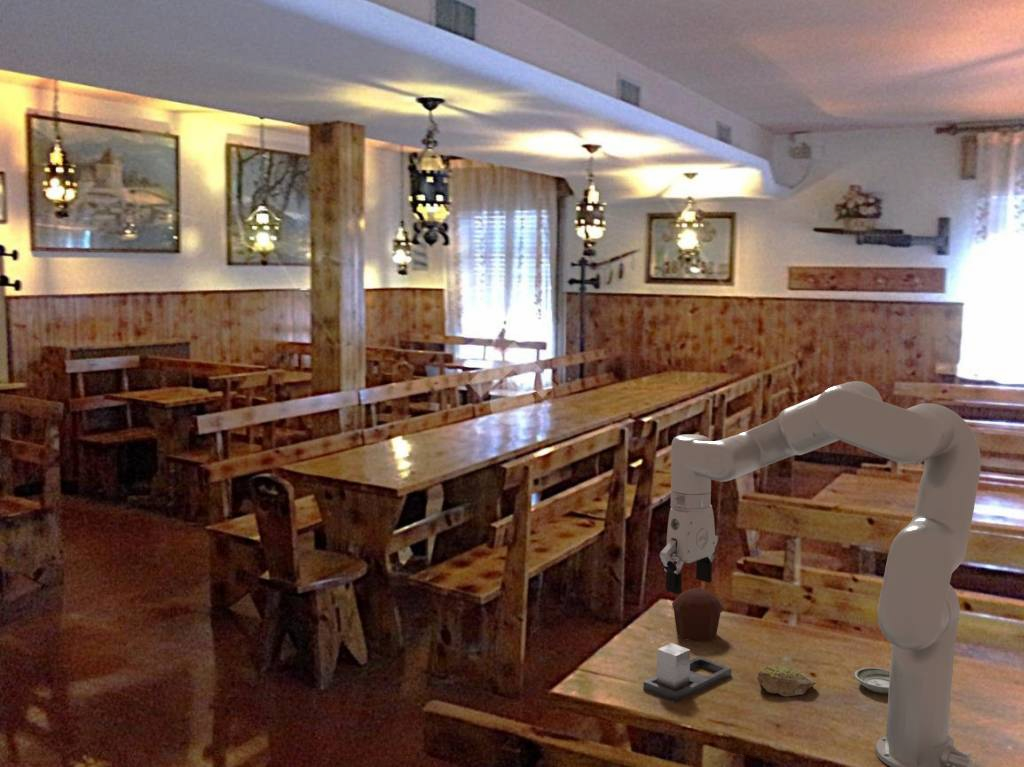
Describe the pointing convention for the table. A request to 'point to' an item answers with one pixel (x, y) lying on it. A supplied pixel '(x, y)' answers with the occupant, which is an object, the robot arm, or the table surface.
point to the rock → (784, 680)
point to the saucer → (874, 679)
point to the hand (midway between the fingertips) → (689, 586)
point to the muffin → (697, 614)
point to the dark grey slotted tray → (691, 680)
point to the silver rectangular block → (673, 667)
